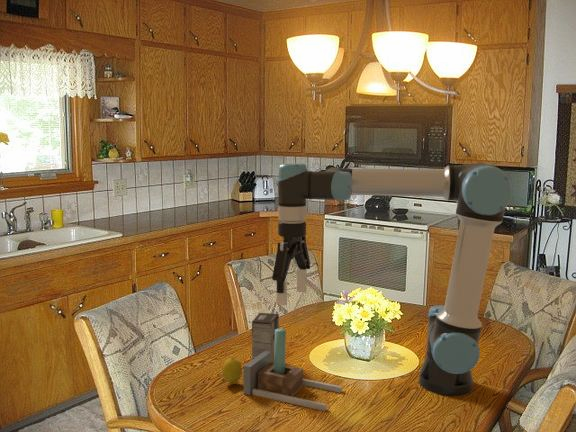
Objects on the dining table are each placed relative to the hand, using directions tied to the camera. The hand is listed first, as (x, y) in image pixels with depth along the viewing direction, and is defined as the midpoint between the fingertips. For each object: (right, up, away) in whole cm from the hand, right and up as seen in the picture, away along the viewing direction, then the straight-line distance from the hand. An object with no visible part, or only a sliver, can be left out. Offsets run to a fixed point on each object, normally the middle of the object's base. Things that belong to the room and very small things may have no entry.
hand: (292, 298), depth 167 cm
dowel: (-4, -25, +2) cm, 25 cm away
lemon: (-17, -26, +8) cm, 32 cm away
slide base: (+1, -27, +1) cm, 27 cm away
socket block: (-3, -26, +2) cm, 26 cm away
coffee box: (-8, -24, +20) cm, 32 cm away
